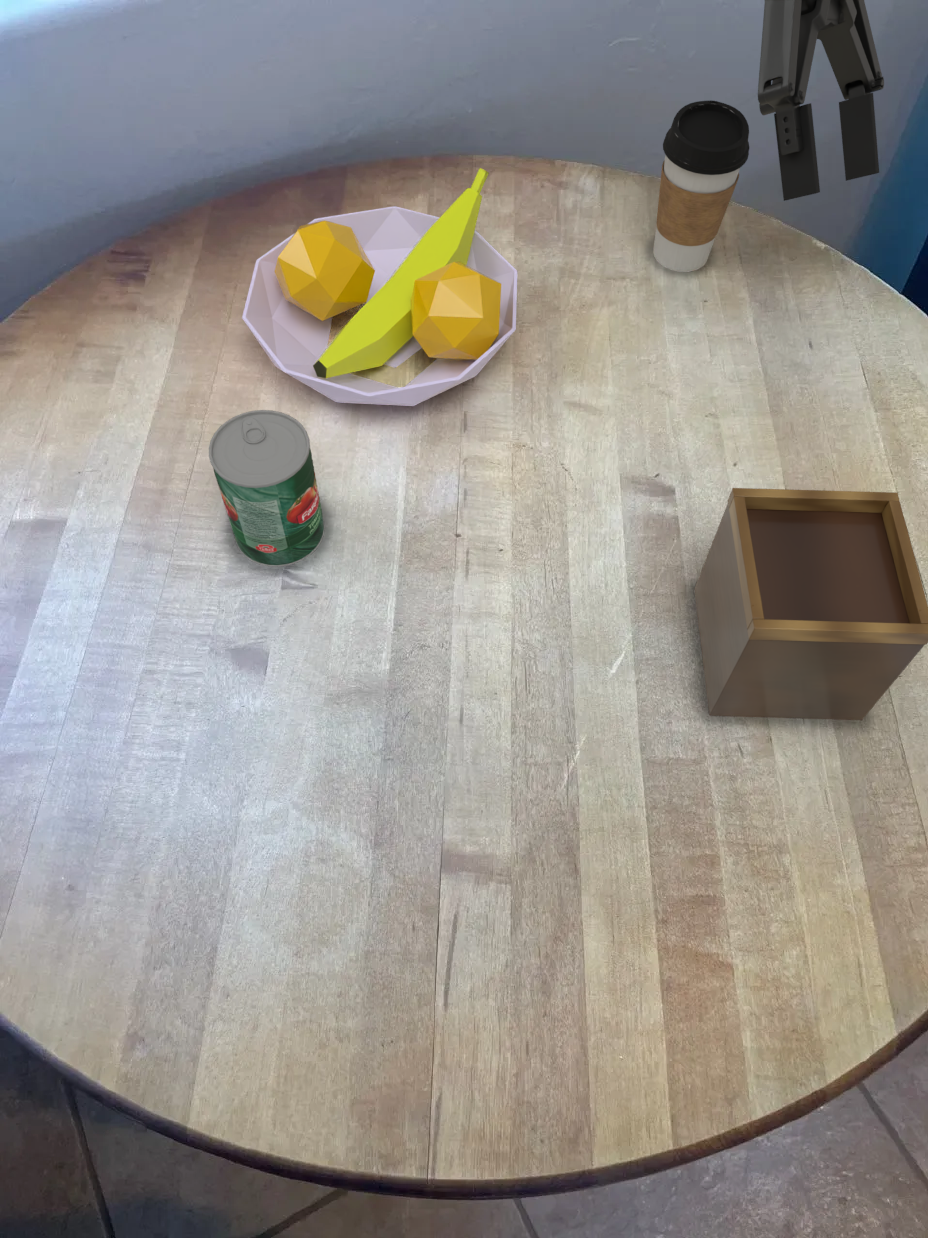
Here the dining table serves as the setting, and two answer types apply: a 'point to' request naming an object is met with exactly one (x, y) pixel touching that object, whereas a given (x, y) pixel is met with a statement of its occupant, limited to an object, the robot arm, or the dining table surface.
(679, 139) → the coffee cup
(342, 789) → the dining table surface
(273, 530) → the canned tomato
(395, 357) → the fruit bowl
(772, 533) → the box
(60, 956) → the dining table surface
